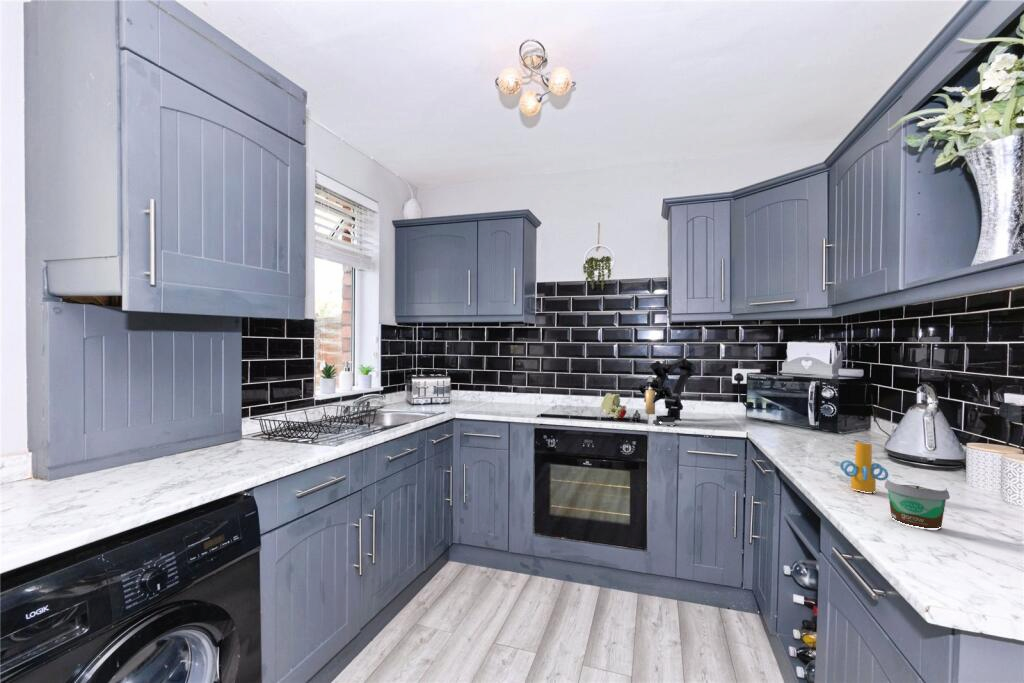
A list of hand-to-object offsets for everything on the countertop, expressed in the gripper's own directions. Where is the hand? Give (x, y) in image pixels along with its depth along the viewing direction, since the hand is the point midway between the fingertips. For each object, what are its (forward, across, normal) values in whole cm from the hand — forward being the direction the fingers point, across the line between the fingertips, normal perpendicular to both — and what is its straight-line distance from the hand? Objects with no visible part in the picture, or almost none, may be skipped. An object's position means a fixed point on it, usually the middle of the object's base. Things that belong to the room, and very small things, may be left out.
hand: (649, 402), depth 246 cm
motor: (+4, +6, +14) cm, 16 cm away
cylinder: (+41, +104, -24) cm, 115 cm away
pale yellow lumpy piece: (+8, -23, +11) cm, 27 cm away
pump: (+4, 0, +6) cm, 7 cm away
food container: (+57, +120, -41) cm, 139 cm away
